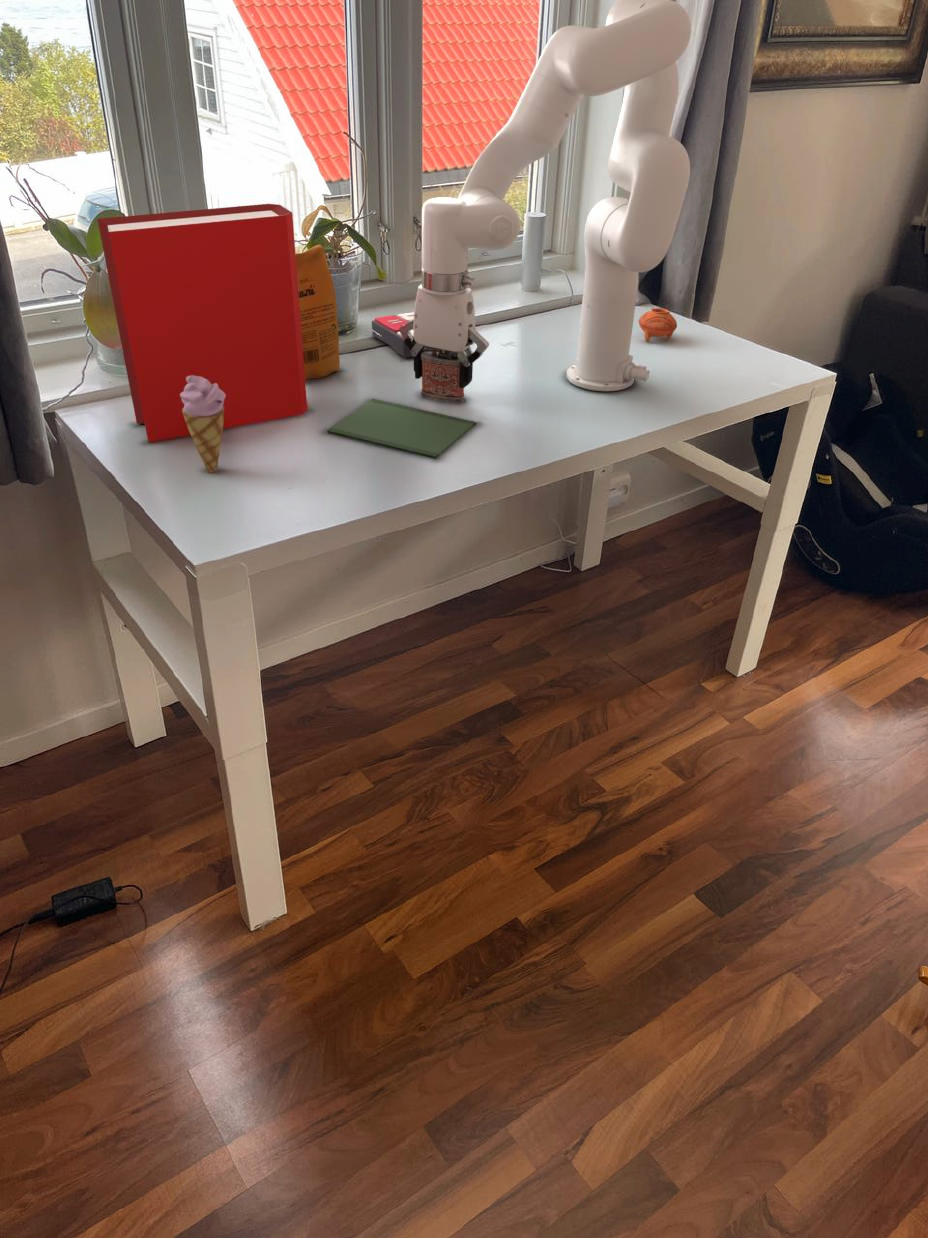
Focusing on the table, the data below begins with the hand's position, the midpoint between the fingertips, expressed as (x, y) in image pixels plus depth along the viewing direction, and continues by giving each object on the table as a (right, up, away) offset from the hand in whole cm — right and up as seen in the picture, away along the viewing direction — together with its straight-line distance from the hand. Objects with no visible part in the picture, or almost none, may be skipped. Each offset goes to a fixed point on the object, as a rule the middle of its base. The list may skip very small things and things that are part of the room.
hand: (442, 380), depth 165 cm
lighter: (0, -3, +2) cm, 3 cm away
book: (-36, -8, -8) cm, 38 cm away
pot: (+44, +16, +30) cm, 55 cm away
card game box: (-7, +14, +24) cm, 29 cm away
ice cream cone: (-34, -20, -23) cm, 46 cm away
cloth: (-6, -10, -9) cm, 15 cm away
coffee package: (-26, +4, +10) cm, 28 cm away
